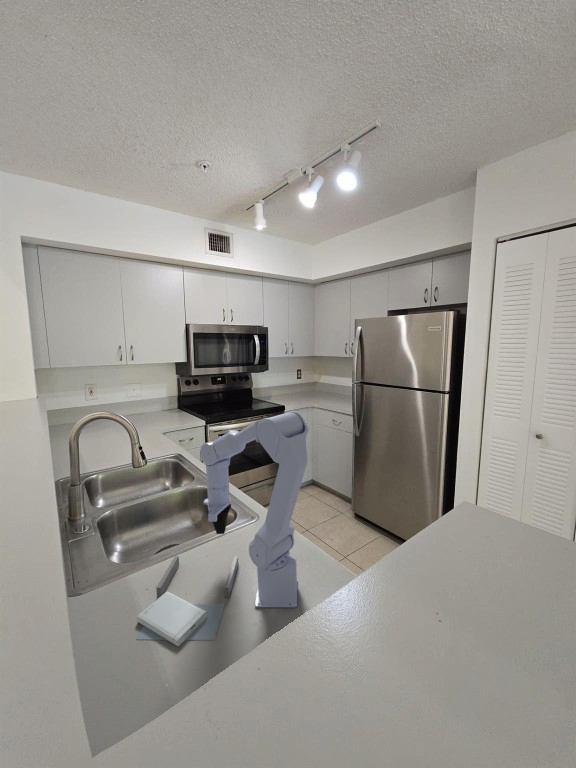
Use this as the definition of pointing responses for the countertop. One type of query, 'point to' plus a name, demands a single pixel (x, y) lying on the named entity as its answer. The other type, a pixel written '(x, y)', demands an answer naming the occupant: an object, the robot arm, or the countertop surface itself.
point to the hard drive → (172, 618)
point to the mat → (202, 632)
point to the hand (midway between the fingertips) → (220, 532)
